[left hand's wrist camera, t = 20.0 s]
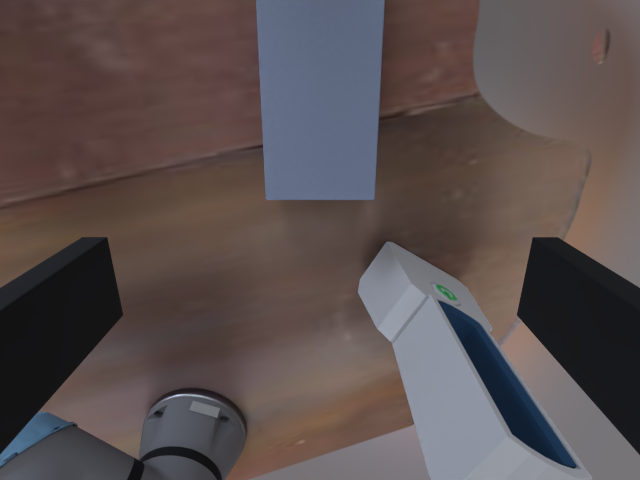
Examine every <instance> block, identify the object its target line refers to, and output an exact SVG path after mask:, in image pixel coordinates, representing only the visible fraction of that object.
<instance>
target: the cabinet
mask: <svg viewBox="0 0 640 480" xmlns="http://www.w3.org/2000/svg"><path fill="white" fill-rule="evenodd" d="M384 7H385V0H256V9H257V29H258V50H259V70H260V90H261V110H262V131H263V151H264V171H265V192H266V200H374V199H375V182H376V162H377V143H378V124H379V104H380V85H381V65H382V46H383V26H384Z"/></svg>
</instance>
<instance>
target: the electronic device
mask: <svg viewBox="0 0 640 480" xmlns="http://www.w3.org/2000/svg"><path fill="white" fill-rule="evenodd" d="M358 293H359V295H360V297H361V299H362V301H363V303H364V305H365V307H366V309H367V311H368V312H369V314H370V316H371V318H372V320H373V322H374V324H375V326H376V328H377V329H378V330H379V331H380V332H381V333H382V334H383V335H384V336H385V337H386V338H387V339H388V340H389V341H390V342H392V346H393V349H394V353H395V356H396V360H397V363H398V367H399V370H400V374H401V377H402V381H403V384H404V388H405V391H406V395H407V399H408V402H409V406H410V409H411V413H412V416H413V420H414V423H415V427H416V430H417V434H418V437H419V441H420V444H421V448H422V451H423V455H424V459H425V462H426V465H427V469H428V473H429V476H430V480H592V477H591V476H590V474H589V473H588V471H587V470H586V469H585V467H584V466H583V464H582V463H581V462H580V460H579V459H578V457H577V456H576V454H575V453H574V452H573V450H572V449H571V447H570V446H569V444H568V443H567V442H566V440H565V439H564V437H563V436H562V434H561V433H560V432H559V430H558V429H557V427H556V426H555V424H554V423H553V422H552V420H551V419H550V417H549V416H548V414H547V413H546V412H545V410H544V409H543V407H542V406H541V404H540V403H539V402H538V400H537V399H536V397H535V396H534V394H533V393H532V392H531V390H530V389H529V387H528V386H527V385H526V383H525V382H524V380H523V379H522V377H521V376H520V375H519V373H518V372H517V370H516V369H515V367H514V366H513V365H512V363H511V362H510V360H509V359H508V357H507V356H506V355H505V353H504V352H503V350H502V349H501V347H500V346H499V345H498V343H497V342H496V340H495V339H494V337H493V336H492V335H491V333H490V332H491V331H492V329H493V328H492V326H491V325H490V323H489V322H488V320H487V318H486V317H485V315H484V314H483V312H482V311H481V309H480V307H479V306H478V304H477V303H476V301H475V300H474V298H473V296H472V295H471V293H470V292H469V290H468V289H467V287H466V286H464V285H463V284H462V283H461V282H460V281H458V280H457V279H456V278H454V277H452V276H450V275H449V274H447V273H445V272H443V271H442V270H440V269H438V268H436V267H435V266H433V265H431V264H430V263H428V262H426V261H424V260H423V259H421V258H419V257H417V256H416V255H414V254H412V253H410V252H409V251H407V250H405V249H403V248H402V247H400V246H398V245H396V244H395V243H393V242H386V243H385V244H384V246H383V247H382V249H381V250H380V251H379V253H378V254H377V256H376V257H375V259H374V260H373V261H372V263H371V264H370V266H369V267H368V269H367V270H366V272H365V273H364V274H363V276H362V277H361V279H360V282H359V288H358Z"/></svg>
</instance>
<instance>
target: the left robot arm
mask: <svg viewBox="0 0 640 480" xmlns="http://www.w3.org/2000/svg"><path fill="white" fill-rule="evenodd" d="M122 316H123V312H122V308H121V303H120V298H119V293H118V288H117V283H116V278H115V273H114V268H113V264H112V259H111V254H110V249H109V244H108V239H107V237H82V238H81V239H79V240H77V241H76V242H74V243H73V244H71V245H69V246H68V247H66V248H64V249H63V250H61V251H60V252H58V253H56V254H55V255H53V256H51V257H50V258H48V259H47V260H45V261H43V262H42V263H40V264H38V265H37V266H35V267H34V268H32V269H30V270H29V271H27V272H26V273H24V274H22V275H21V276H19V277H17V278H16V279H14V280H13V281H11V282H9V283H8V284H6V285H4V286H3V287H1V288H0V480H225V478H226V477H227V475H228V474H229V472H230V471H231V469H232V467H233V466H234V464H235V463H236V461H237V460H238V458H239V456H240V454H241V452H242V450H243V448H244V444H245V440H246V434H247V427H246V422H245V419H244V417H243V415H242V413H241V412H240V410H239V409H238V408H237V407H236V406H235V405H234V404H233V403H232V402H231V401H229V400H228V399H227V398H225V397H223V396H221V395H219V394H217V393H214V392H212V391H208V390H203V389H195V388H188V389H180V390H176V391H172V392H170V393H167V394H165V395H164V396H162V397H161V398H159V399H158V400H157V401H156V402H155V403H154V404H153V406H152V407H151V409H150V411H149V412H148V414H147V416H146V418H145V421H144V424H143V429H142V436H141V445H140V453H139V460H137V459H135V458H133V457H132V456H130V455H128V454H126V453H124V452H123V451H121V450H119V449H117V448H115V447H113V446H111V445H110V444H108V443H106V442H104V441H102V440H100V439H99V438H97V437H95V436H93V435H91V434H89V433H88V432H86V431H84V430H82V429H80V428H78V427H77V426H78V425H77V424H76V423H74V422H67V421H65V420H63V419H61V418H59V417H57V416H55V415H53V414H50V413H47V412H40V413H37V412H38V411H39V410H40V409H41V408H42V407H43V406H44V404H45V403H46V402H47V401H48V400H49V399H50V398H51V396H52V395H53V394H54V393H55V392H56V391H57V390H58V388H59V387H60V386H61V385H62V384H63V383H64V382H65V380H66V379H67V378H68V377H69V376H70V375H71V374H72V373H73V371H74V370H75V369H76V368H77V367H78V366H79V365H80V363H81V362H82V361H83V360H84V359H85V358H86V357H87V355H88V354H89V353H90V352H91V351H92V350H93V349H94V347H95V346H96V345H97V344H98V343H99V342H100V341H101V340H102V338H103V337H104V336H105V335H106V334H107V333H108V332H109V330H110V329H111V328H112V327H113V326H114V325H115V324H116V322H117V321H118V320H119V319H120V318H121V317H122ZM517 316H518V317H519V318H520V319H521V320H522V321H523V322H524V324H525V325H526V326H527V327H528V328H529V329H530V330H531V332H532V333H533V334H534V335H535V336H536V337H537V338H538V340H539V341H540V342H541V343H542V344H543V345H544V346H545V347H546V349H547V350H548V351H549V352H550V353H551V354H552V355H553V357H554V358H555V359H556V360H557V361H558V362H559V363H560V365H561V366H562V367H563V368H564V369H565V370H566V371H567V373H568V374H569V375H570V376H571V377H572V378H573V379H574V380H575V382H576V383H577V384H578V385H579V386H580V387H581V388H582V390H583V391H584V392H585V393H586V394H587V395H588V396H589V398H590V399H591V400H592V401H593V402H594V403H595V404H596V406H597V407H598V408H599V409H600V410H601V411H602V412H603V414H604V415H605V416H606V417H607V418H608V419H609V420H610V421H611V423H612V424H613V425H614V426H615V427H616V428H617V429H618V431H619V432H620V433H621V434H622V435H623V436H624V437H625V438H626V440H627V441H628V442H629V443H630V444H631V445H632V447H633V448H634V449H635V450H636V451H637V452H638V453H639V454H640V288H639V287H637V286H636V285H634V284H632V283H631V282H629V281H627V280H626V279H624V278H623V277H621V276H619V275H618V274H616V273H614V272H613V271H611V270H610V269H608V268H606V267H605V266H603V265H602V264H600V263H598V262H597V261H595V260H593V259H592V258H590V257H589V256H587V255H585V254H584V253H582V252H580V251H579V250H577V249H576V248H574V247H572V246H571V245H569V244H567V243H566V242H564V241H563V240H561V239H559V238H558V237H533V239H532V244H531V249H530V254H529V259H528V264H527V268H526V273H525V278H524V283H523V288H522V293H521V298H520V303H519V308H518V312H517Z"/></svg>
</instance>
